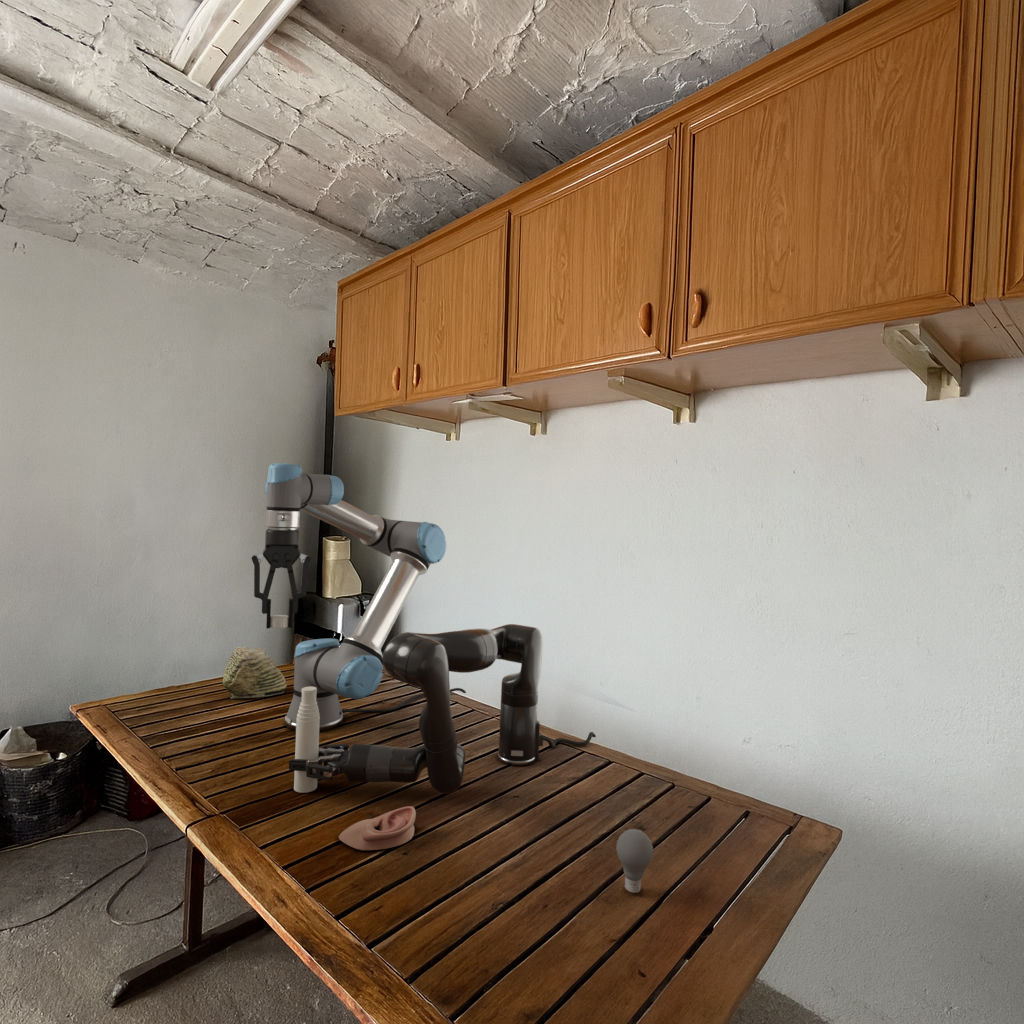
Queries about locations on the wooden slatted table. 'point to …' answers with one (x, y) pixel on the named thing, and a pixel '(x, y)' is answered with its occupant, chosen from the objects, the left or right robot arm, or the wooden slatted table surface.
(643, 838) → the light bulb
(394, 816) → the anatomical model
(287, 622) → the cap
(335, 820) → the wooden slatted table surface
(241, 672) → the fossil
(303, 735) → the bottle
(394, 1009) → the wooden slatted table surface
